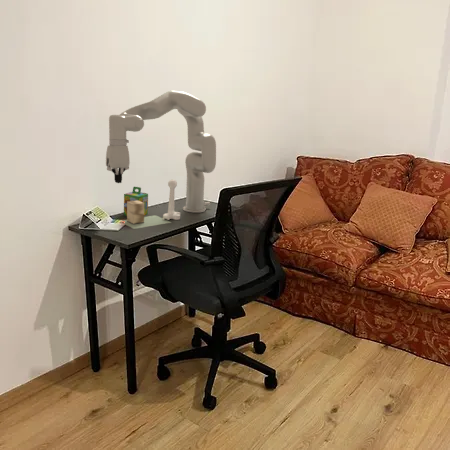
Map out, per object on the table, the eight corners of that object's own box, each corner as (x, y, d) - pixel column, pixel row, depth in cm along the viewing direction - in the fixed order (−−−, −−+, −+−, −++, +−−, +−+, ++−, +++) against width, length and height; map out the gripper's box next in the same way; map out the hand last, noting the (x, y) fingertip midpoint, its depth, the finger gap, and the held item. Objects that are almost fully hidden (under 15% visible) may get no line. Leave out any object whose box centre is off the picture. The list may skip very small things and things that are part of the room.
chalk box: (123, 215, 243) (123, 187, 239) (133, 212, 251) (133, 184, 247) (138, 218, 240) (138, 190, 235) (148, 214, 248) (148, 187, 243)
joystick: (173, 215, 249) (175, 177, 244) (185, 218, 246) (187, 179, 240) (160, 219, 239) (162, 180, 234) (173, 222, 236) (175, 182, 231)
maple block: (137, 219, 236) (137, 200, 233) (144, 222, 232) (144, 203, 229) (127, 221, 233) (127, 201, 230) (133, 224, 228) (133, 204, 225)
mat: (155, 216, 246) (155, 215, 246) (171, 223, 235) (171, 222, 235) (118, 221, 233) (118, 220, 233) (133, 229, 222) (133, 228, 222)
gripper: (128, 141, 223) (128, 179, 228) (98, 142, 213) (99, 182, 219) (136, 143, 217) (136, 182, 223) (106, 144, 208) (107, 185, 213)
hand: (118, 182), depth 221 cm, fingers closed
